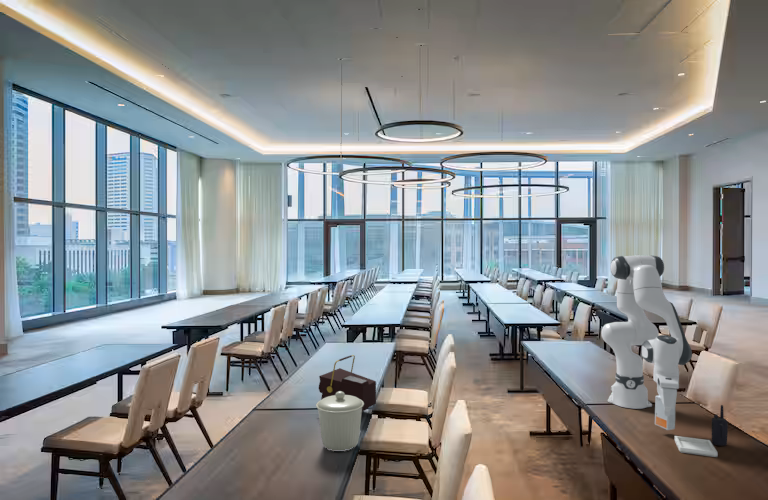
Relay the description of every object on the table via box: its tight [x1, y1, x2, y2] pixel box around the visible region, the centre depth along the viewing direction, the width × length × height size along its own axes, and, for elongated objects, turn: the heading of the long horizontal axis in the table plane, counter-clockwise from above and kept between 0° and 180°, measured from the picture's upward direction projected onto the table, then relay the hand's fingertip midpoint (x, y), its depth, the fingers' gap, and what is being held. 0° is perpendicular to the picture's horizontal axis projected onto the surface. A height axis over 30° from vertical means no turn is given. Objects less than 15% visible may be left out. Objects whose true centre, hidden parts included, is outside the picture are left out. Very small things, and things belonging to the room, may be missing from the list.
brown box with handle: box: [318, 354, 377, 413], centre depth 225 cm, size 16×23×25 cm
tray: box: [673, 435, 719, 458], centre depth 184 cm, size 12×12×2 cm
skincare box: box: [654, 394, 676, 431], centre depth 197 cm, size 6×4×12 cm
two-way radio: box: [711, 404, 729, 446], centre depth 186 cm, size 6×4×15 cm
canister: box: [315, 391, 364, 450], centre depth 188 cm, size 18×18×21 cm
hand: (665, 411), depth 197 cm, fingers closed on skincare box, 7 cm apart
